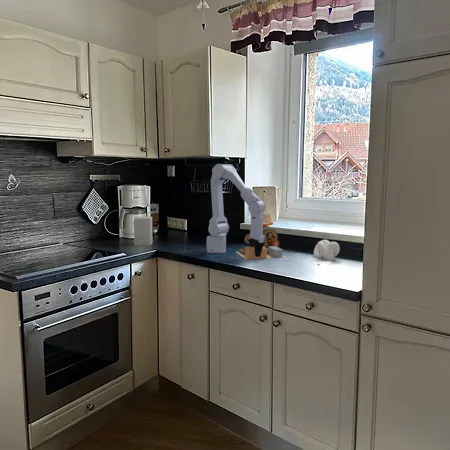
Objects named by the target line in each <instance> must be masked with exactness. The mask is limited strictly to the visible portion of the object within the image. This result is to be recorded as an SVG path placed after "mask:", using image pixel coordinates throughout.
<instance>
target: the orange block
mask: <svg viewBox="0 0 450 450" xmlns="http://www.w3.org/2000/svg"><path fill="white" fill-rule="evenodd" d="M244 249H245V257H247V258H248V259H247V260H255V259H254V258H263V259H268V258H267V250H268V247H266V248H265V247H264V246H263V248H262V252H261V255H260V257H256V256H255V249H254V247H250V246H245V248H244Z"/></svg>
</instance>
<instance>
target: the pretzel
mask: <svg viewBox="0 0 450 450" xmlns="http://www.w3.org/2000/svg"><path fill="white" fill-rule="evenodd" d="M340 250H341V248H340V244H339V243H338V242H336V241H329V240H328V239H321V240H320V241H318V242H317V244H315V247H314V249H313V256H314V258H316V259H325V260H326V261H329V262H332V261H333V260H334V258H335V257H336V256H338V254H339V253H340Z"/></svg>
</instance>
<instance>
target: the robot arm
mask: <svg viewBox="0 0 450 450" xmlns="http://www.w3.org/2000/svg"><path fill="white" fill-rule="evenodd" d="M211 171H212V172H211V173H212V174H211V178H210V190H211V191H210V192H211V193H210V194H211V207H212V209H211V210H212V217H211V218H210V220H209V225H208V233H209V234H210V235H207V236H206V252H207V254H214V253H215V254H216V253H217V254H222V253H226V251H227V248H226V247H227V235H228V232H229V230H230V225H229V224H228V219H227V217H226V216H225V212H224V195H223V192H224V191H223V184H224V183H225V181H226V180H229V181H231V182H232V183H233V184H234V185H235V187H236V188H237V189H238V191H239V192H240V197H241V198H242V200H243V201H244V202H245V204H246V205H247V207H248V209H247V210H248V212H249V215H250V229H249V230H250V232H249V235H250V238H251V239H248V242H249V247H254V249H255V256H256V257H260V255H261V252H262V248H263V246H264V244H265V242H263V240H264V238H263V237H265V236H264V235H263V224H264V212H265V211H266V208H267V207H266V203H265V201H264V200H262V199H260V198H259V196H257V195H256V193H255V192H254V189H253V188H250V187H247V186H246V184H245V183H244V181H243V179H241V177H240V175H239V174H238V172H237V169H236V168H235V166H234V165H233V164H227V163H226V164H223V163H222V164H221V163H217V164H215V165H214V166H213V167H212V168H211Z"/></svg>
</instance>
